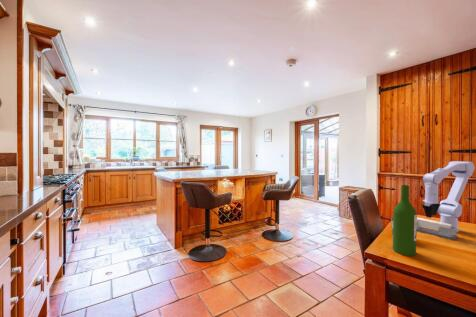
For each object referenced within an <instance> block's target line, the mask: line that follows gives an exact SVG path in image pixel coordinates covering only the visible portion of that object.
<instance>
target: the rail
mask: <svg viewBox="0 0 476 317" xmlns="http://www.w3.org/2000/svg"><path fill="white" fill-rule="evenodd" d="M417 222H418V226H422V227H424V228H428V229H433V230H437V231H439V227H444V228H448V229H452V224H447V223H442V222H441V221H437V220H433V219H432V220H431V219H426V218H423V217H422V218H421V217H418V216H417Z"/></svg>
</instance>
